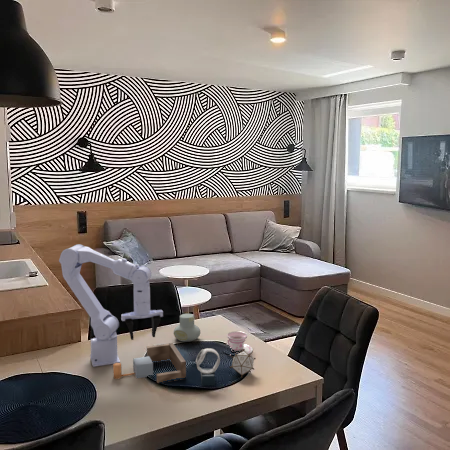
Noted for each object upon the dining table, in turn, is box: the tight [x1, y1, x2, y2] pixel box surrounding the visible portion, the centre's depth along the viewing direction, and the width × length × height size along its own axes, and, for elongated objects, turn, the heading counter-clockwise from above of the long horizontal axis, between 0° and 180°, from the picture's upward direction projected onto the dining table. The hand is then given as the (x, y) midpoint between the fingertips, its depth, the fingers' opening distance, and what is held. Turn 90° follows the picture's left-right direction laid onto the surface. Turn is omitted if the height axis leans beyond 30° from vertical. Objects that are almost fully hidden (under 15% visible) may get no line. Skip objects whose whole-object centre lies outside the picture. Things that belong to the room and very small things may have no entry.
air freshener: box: [173, 313, 201, 343], centre depth 191 cm, size 11×8×10 cm
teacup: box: [226, 330, 254, 356], centre depth 180 cm, size 12×12×6 cm
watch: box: [194, 347, 221, 386], centre depth 154 cm, size 6×8×11 cm
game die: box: [229, 349, 256, 378], centre depth 160 cm, size 9×8×10 cm
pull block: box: [112, 355, 154, 380], centre depth 159 cm, size 13×6×4 cm, turn 111°
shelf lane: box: [146, 342, 187, 384], centre depth 163 cm, size 10×17×6 cm, turn 21°
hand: (142, 337), depth 168 cm, fingers open, 7 cm apart
